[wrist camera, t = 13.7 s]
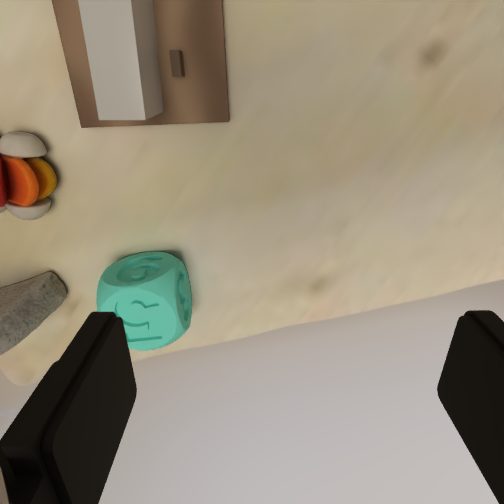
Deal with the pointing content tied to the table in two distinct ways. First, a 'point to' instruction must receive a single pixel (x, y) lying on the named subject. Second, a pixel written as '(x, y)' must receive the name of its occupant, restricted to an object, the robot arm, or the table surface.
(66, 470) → the robot arm
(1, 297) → the decorative stone
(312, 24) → the table surface
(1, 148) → the rainbow petal toy
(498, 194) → the table surface
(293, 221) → the table surface
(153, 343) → the decorative dice
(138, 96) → the gray rectangular block
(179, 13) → the brown board
